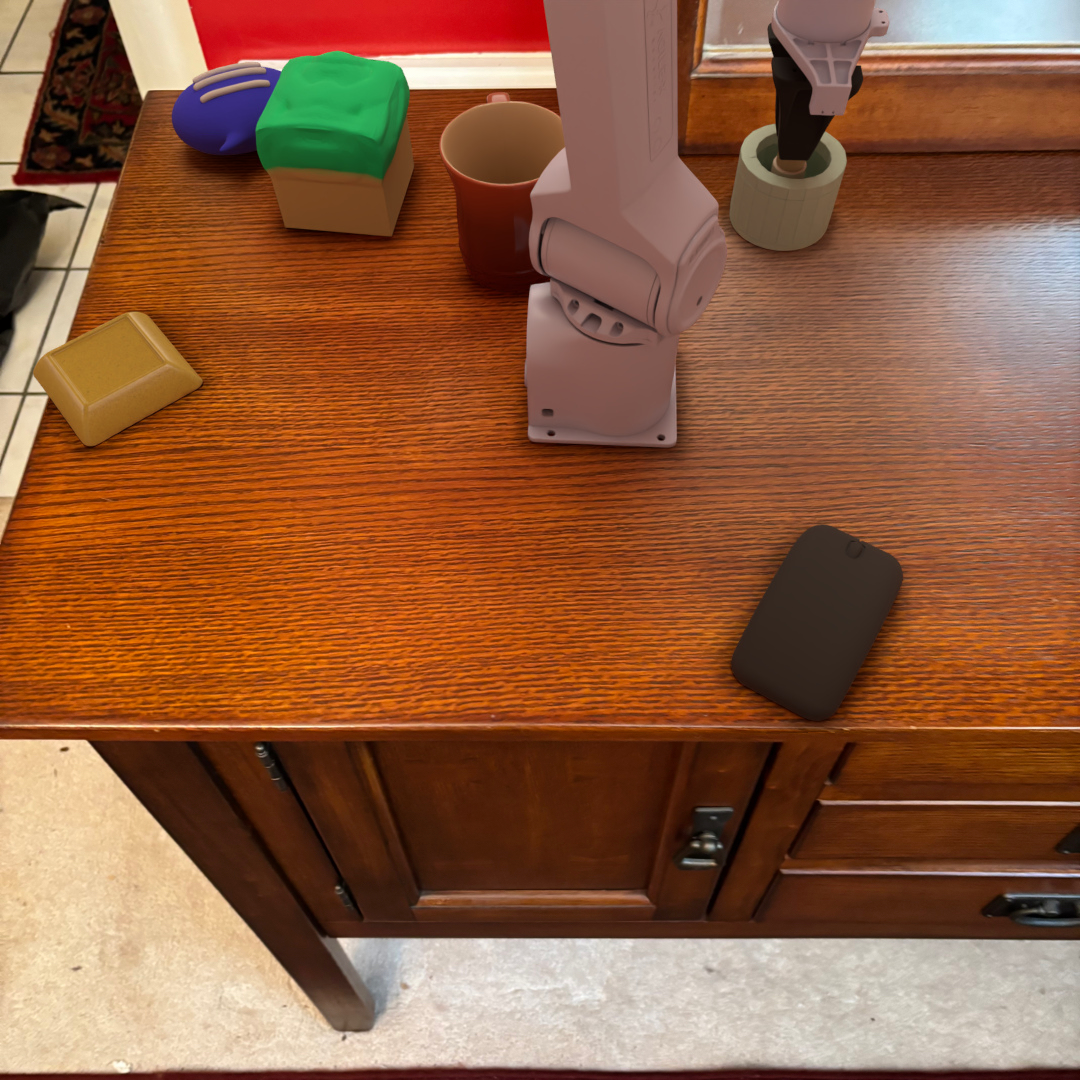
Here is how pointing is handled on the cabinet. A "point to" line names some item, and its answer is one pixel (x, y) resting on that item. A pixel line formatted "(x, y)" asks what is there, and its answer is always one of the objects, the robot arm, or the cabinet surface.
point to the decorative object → (224, 108)
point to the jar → (784, 193)
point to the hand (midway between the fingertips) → (792, 145)
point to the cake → (338, 143)
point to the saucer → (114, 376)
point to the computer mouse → (817, 621)
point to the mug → (499, 185)
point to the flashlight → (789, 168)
